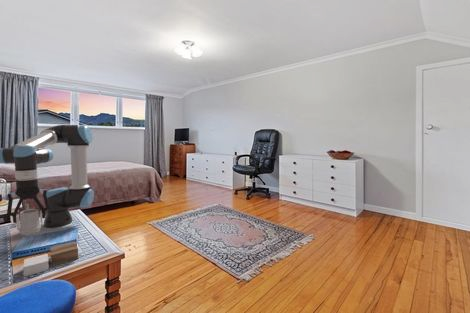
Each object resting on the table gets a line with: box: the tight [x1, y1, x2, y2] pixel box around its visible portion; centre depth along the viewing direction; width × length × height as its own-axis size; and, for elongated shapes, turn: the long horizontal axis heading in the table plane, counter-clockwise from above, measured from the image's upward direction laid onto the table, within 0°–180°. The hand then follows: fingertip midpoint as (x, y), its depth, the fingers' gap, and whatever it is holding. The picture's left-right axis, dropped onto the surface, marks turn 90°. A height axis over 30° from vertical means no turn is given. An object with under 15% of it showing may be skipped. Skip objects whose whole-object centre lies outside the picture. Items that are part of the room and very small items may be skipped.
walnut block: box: [49, 240, 79, 267], centre depth 111 cm, size 10×10×5 cm
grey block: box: [22, 253, 50, 277], centre depth 101 cm, size 8×8×4 cm
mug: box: [18, 203, 42, 236], centre depth 109 cm, size 8×12×12 cm, turn 50°
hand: (30, 226), depth 109 cm, fingers closed on mug, 7 cm apart
